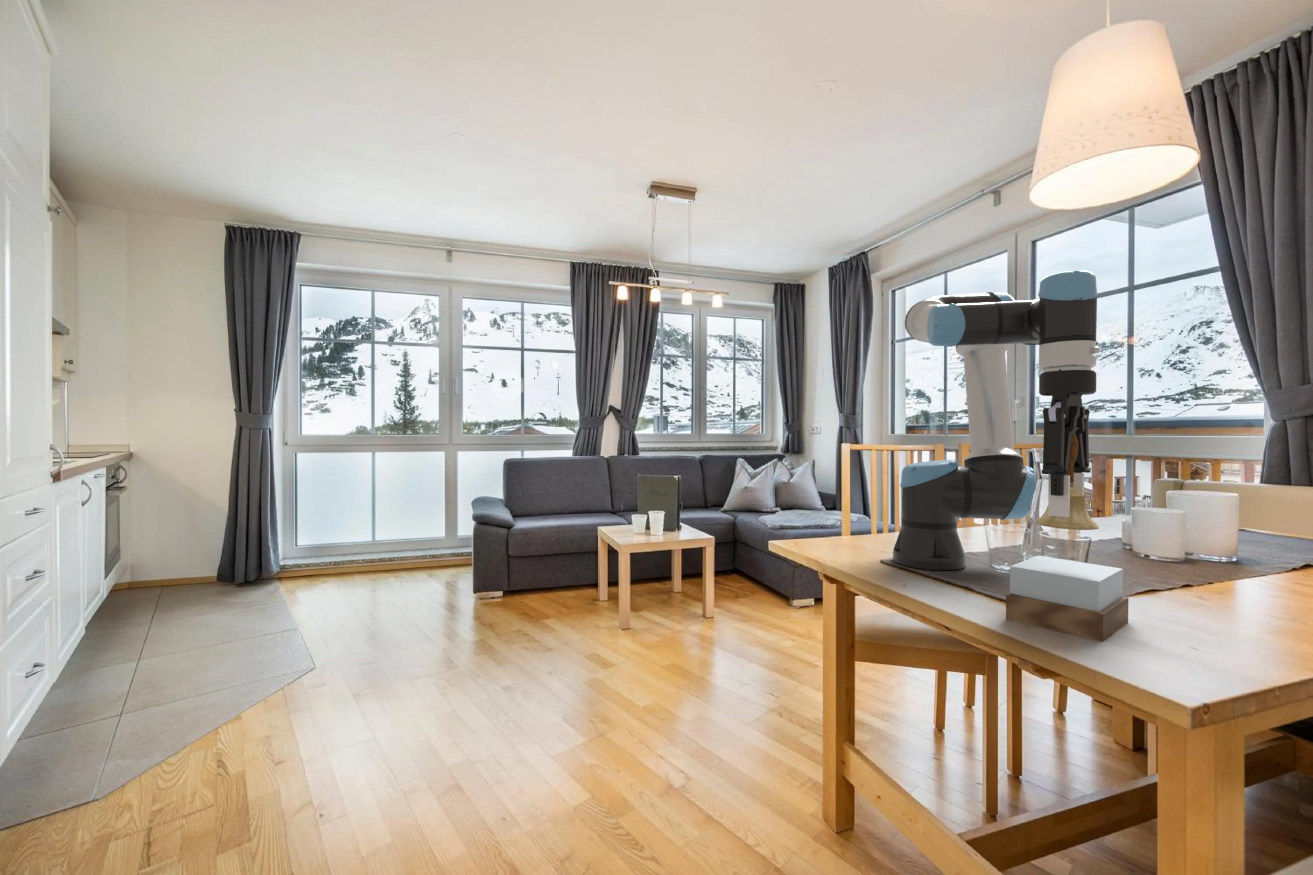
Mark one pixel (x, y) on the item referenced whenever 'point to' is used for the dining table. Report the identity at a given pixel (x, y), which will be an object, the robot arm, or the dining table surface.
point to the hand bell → (1071, 502)
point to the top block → (1067, 582)
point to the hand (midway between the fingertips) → (1066, 513)
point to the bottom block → (1068, 616)
